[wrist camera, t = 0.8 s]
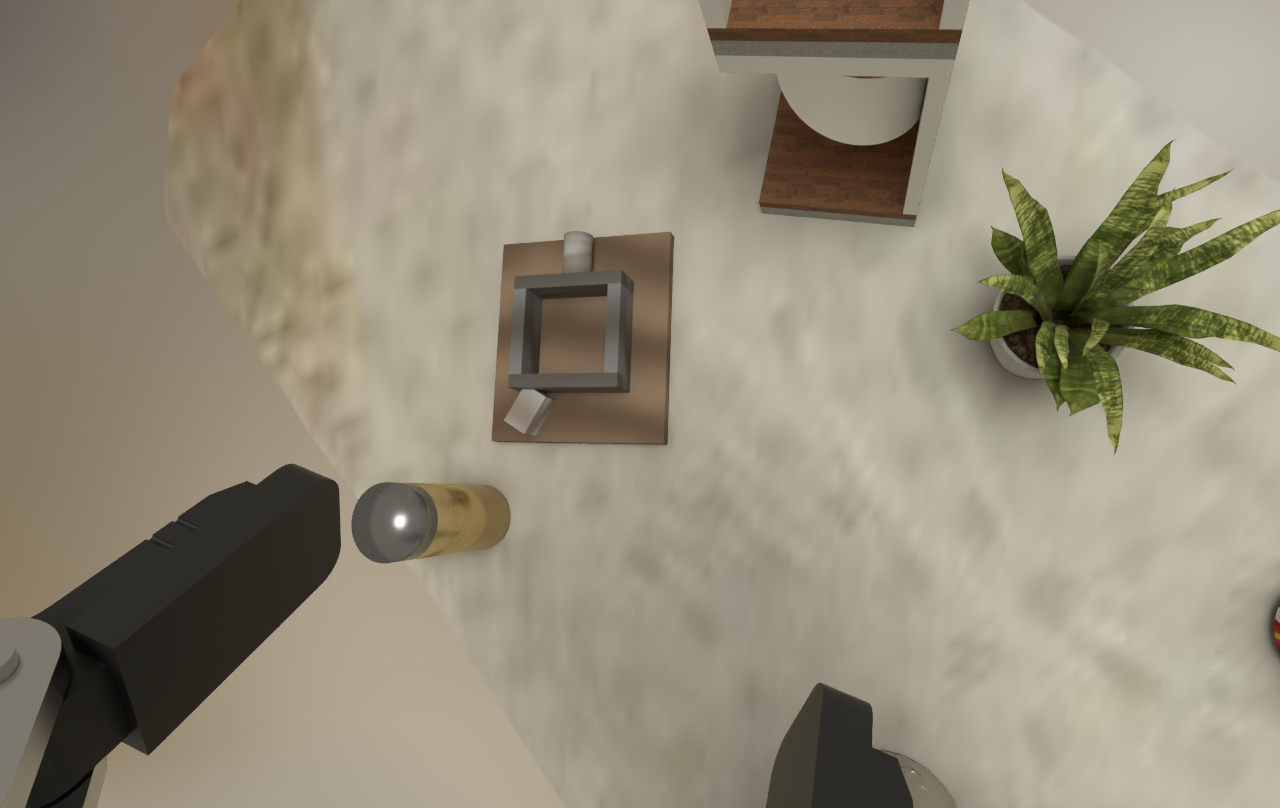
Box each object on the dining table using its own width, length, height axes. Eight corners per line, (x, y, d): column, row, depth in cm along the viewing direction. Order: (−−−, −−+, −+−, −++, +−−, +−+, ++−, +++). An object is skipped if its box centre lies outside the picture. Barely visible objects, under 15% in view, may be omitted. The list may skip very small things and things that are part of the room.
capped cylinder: (508, 550, 53) (416, 566, 42) (452, 547, 55) (348, 560, 43) (512, 486, 54) (422, 483, 42) (456, 484, 55) (355, 481, 44)
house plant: (1185, 466, 41) (1389, 448, 26) (936, 470, 45) (983, 457, 30) (1158, 239, 43) (1333, 95, 28) (922, 262, 47) (959, 147, 32)
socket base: (667, 444, 51) (652, 440, 47) (497, 441, 55) (471, 437, 51) (673, 236, 53) (660, 216, 49) (509, 248, 57) (485, 231, 53)
